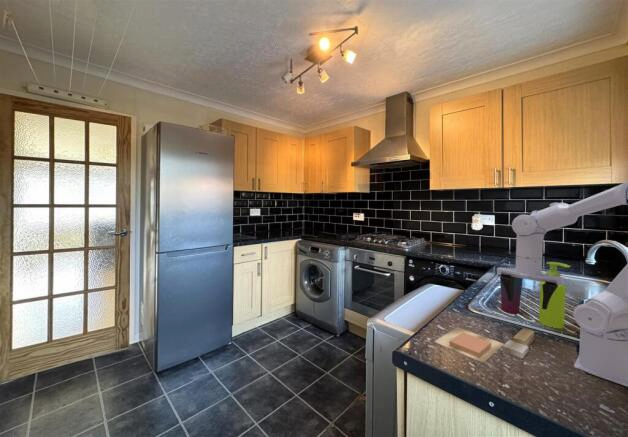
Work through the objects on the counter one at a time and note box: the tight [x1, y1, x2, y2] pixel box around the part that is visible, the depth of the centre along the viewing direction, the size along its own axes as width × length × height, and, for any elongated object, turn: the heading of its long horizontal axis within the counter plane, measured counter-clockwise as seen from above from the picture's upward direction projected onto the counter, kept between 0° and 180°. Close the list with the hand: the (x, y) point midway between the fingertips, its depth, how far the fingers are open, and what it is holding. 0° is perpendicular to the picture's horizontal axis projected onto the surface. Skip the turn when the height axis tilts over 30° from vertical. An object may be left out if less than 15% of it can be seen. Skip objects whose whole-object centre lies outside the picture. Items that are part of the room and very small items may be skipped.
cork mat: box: [433, 326, 505, 364], centre depth 69 cm, size 12×14×1 cm
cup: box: [499, 267, 524, 315], centre depth 92 cm, size 7×7×15 cm
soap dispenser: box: [538, 261, 572, 330], centre depth 80 cm, size 6×7×20 cm
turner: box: [502, 327, 535, 360], centre depth 68 cm, size 4×14×3 cm, turn 127°
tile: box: [449, 333, 491, 357], centre depth 67 cm, size 7×1×8 cm
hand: (527, 304), depth 73 cm, fingers open, 7 cm apart
